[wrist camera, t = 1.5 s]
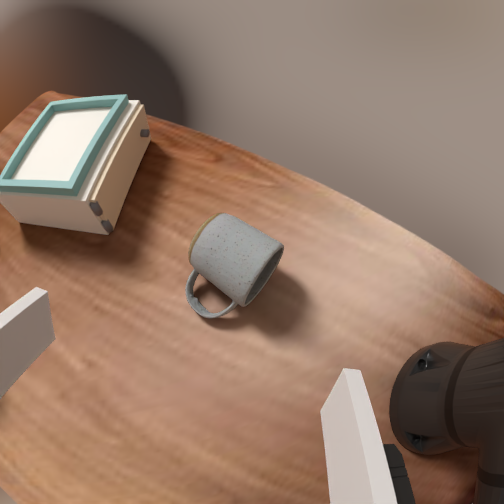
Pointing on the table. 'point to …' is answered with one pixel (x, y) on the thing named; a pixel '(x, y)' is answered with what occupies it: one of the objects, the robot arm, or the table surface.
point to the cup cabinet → (76, 164)
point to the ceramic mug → (231, 260)
